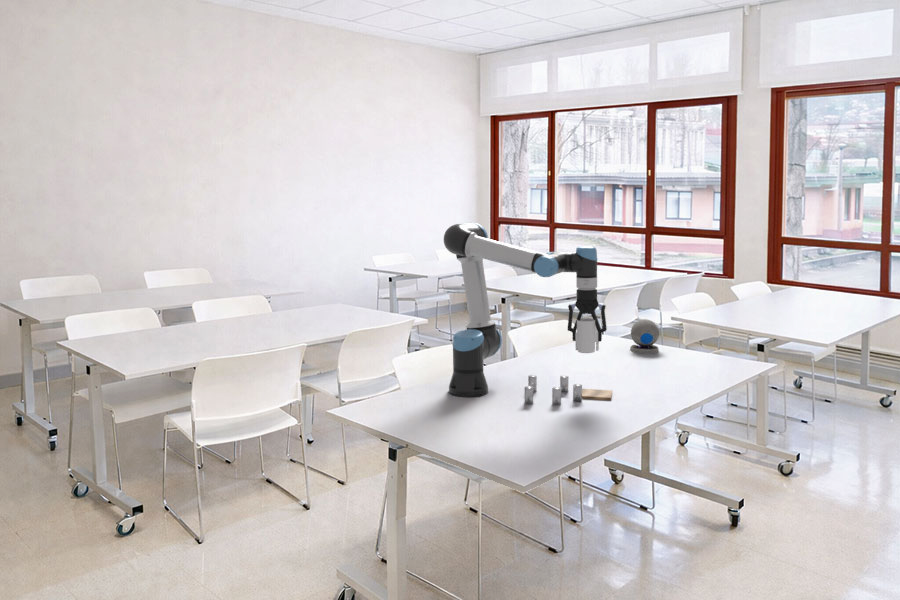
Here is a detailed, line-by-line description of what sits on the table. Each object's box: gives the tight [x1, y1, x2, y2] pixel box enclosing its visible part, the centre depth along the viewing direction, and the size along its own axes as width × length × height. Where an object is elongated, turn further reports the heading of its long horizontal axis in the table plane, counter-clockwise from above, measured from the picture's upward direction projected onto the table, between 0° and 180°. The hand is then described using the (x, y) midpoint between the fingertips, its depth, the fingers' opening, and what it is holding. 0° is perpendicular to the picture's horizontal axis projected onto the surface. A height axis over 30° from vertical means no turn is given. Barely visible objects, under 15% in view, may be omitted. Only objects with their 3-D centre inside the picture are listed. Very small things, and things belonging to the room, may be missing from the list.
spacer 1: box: [527, 374, 538, 393], centre depth 288 cm, size 3×3×6 cm
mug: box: [576, 317, 598, 354], centre depth 277 cm, size 10×7×12 cm, turn 130°
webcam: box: [629, 318, 660, 354], centre depth 354 cm, size 13×13×15 cm
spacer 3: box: [551, 386, 562, 406], centre depth 271 cm, size 3×3×6 cm
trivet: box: [582, 388, 613, 401], centre depth 282 cm, size 12×10×1 cm
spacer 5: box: [572, 383, 583, 403], centre depth 275 cm, size 3×3×6 cm
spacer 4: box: [559, 374, 569, 394], centre depth 287 cm, size 3×3×6 cm
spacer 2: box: [523, 385, 534, 406], centre depth 273 cm, size 3×3×6 cm
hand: (587, 349), depth 278 cm, fingers closed on mug, 7 cm apart
